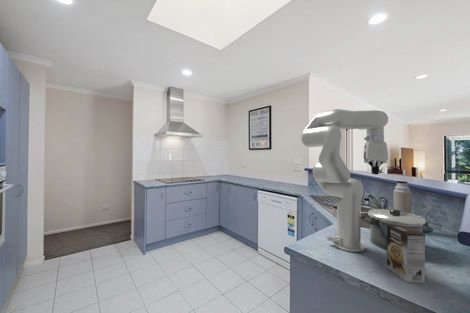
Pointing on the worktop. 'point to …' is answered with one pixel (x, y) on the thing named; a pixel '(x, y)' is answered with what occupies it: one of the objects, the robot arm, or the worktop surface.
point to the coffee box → (406, 253)
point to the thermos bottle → (402, 197)
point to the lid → (397, 216)
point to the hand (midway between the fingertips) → (375, 174)
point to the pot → (385, 230)
